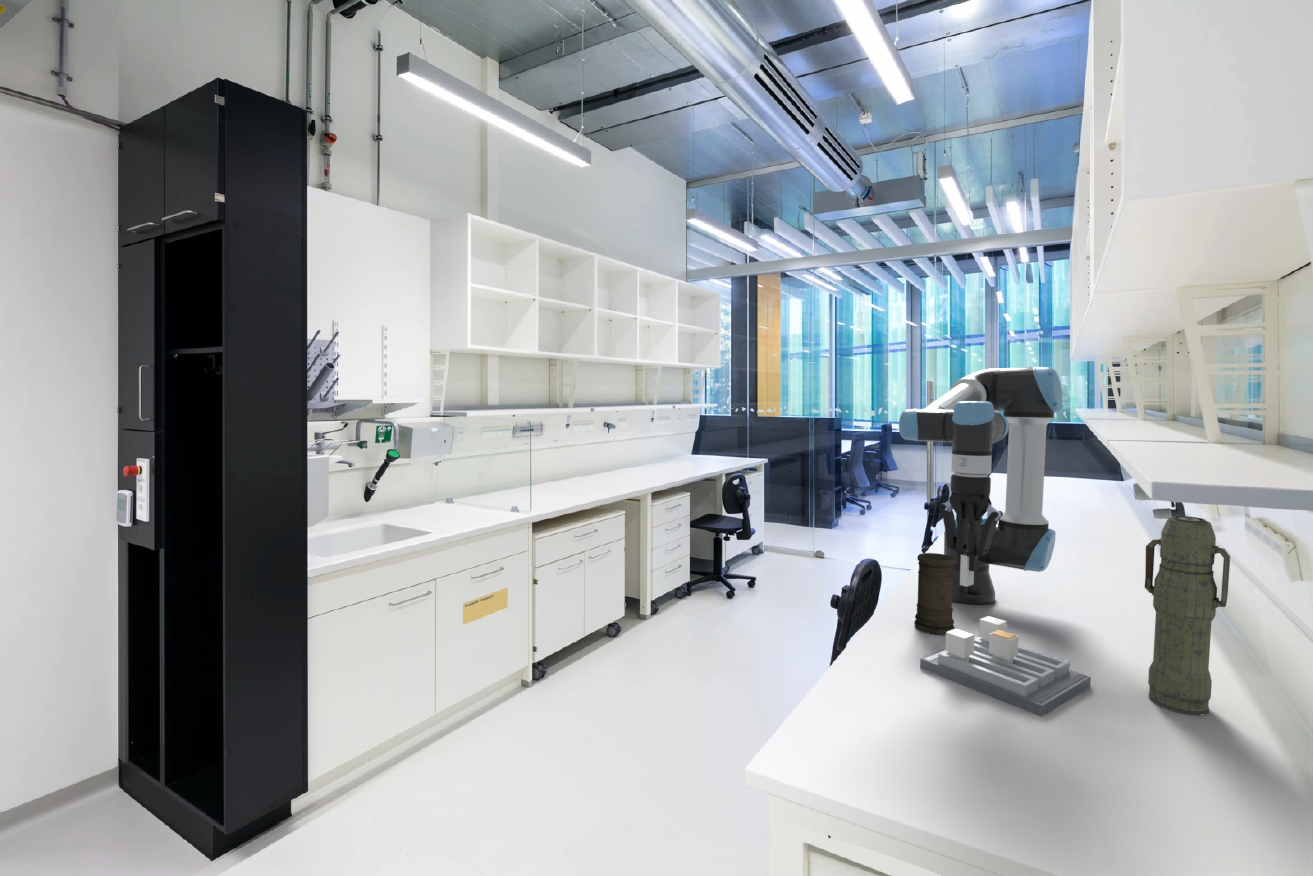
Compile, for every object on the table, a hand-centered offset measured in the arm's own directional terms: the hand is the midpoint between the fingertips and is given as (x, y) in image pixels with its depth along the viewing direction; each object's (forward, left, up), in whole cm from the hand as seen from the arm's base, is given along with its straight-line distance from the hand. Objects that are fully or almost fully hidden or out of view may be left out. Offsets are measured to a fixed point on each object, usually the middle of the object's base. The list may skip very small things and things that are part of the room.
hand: (966, 584), depth 132 cm
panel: (0, +8, -17) cm, 19 cm away
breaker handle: (0, +8, -15) cm, 17 cm away
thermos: (-16, +32, -18) cm, 40 cm away
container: (-13, -15, -18) cm, 27 cm away
